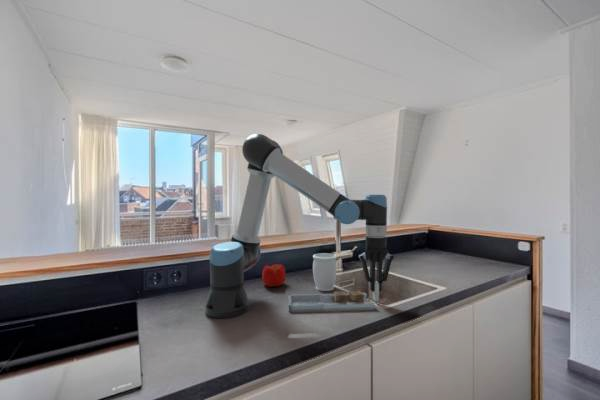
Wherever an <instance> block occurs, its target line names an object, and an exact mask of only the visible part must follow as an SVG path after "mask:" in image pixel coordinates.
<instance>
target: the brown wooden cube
mask: <svg viewBox="0 0 600 400" xmlns="http://www.w3.org/2000/svg"><path fill="white" fill-rule="evenodd" d="M348 293H349V302H364V294H363V293H364V292H361V291H360V290H351V291H348Z"/></svg>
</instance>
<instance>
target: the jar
mask: <svg viewBox="0 0 600 400" xmlns="http://www.w3.org/2000/svg"><path fill="white" fill-rule="evenodd" d="M337 257H338V256H337V255H336V254H334V253H328V252H323V253H322V252H320V253H314V254H312V258H313V261H312V275H313V281H314V284H315V289H316V290H318V291H323V292H328V291H333V290H334V289H335V287H334V286H335V284H336V279H337V273H338V271H337V270H338V267H337V266H338V265H337V261H336V260H337Z"/></svg>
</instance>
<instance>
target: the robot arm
mask: <svg viewBox="0 0 600 400" xmlns="http://www.w3.org/2000/svg"><path fill="white" fill-rule="evenodd" d="M241 152H242V155H243V157H244V158H243V159H244V160H246V162H247V163H248V164H247V171H248V172H249V178H248V181H247V186H246V191H245V195H244V198H243V204H242V208H241V213H240V216H239V217H240V218H239V220H238V221H239V222H238V226H237V229H236V231H235V232H234V233H233V234H231V239H230V241H226V242H225V241H224V242H222V243H217V244H215V245H213V246H212V247H211V249H210V252H209V276H210V277H209V280H210V282H209V283H210V285H209V286H210V287H209V289H210V290H209V292H208V296H207V300H206V302H205V307H204V308H205V310H204V311H205V315H206V316H208V317H210V318H214V319H215V318H216V319H229V318H235V317H238V316H240V315H243V314H245V313H246V312H247V311H249V308H250V307H249V306H250V305H249V304H250V303H249V297H248V296H247V295H248V294H247V292H246V289H245V285H244V282H245V281H244V280H245V279H244V278H245V277H244V276H245V274H244V273H245V272H246V271H248V270H249V269H251V268H252V267H254V266H256V264H257V263H258V262H259V260H260V257H261V248H260V244H261V239H260V237H259V232H260V228H261V224H262V220H263V217H264V216H263V215H264V211H265V207H266V202H267V199H268V194H269V190H270V185H271V181H272V179H273V178H274V177H277V179H279V180H281V181H282V182H283V183H285V184H287V185H288V186H290V187H291V188H292V189H294V190H295V191H296V192H298V193H300V195H303V196H304V197H305V198H307V199H308V200H310V201H311V202H313V203H314V204H315V205H317V206H319V207H320V208H321V209H323V210H324V211H326V212H327V213H328V214H329V215H331V216H333V219H335V220H336V221H337V222H340V223H341V224H343V225H352V224H353V223H355V222H356V221H365V235H366V236H365V249H364V252H362V253H361V254H358V258H359V260H360V263H361V266H362V270H363V276H364V280H366V281H367V283H368V282H369V284H370V285H369V287H370V288H369V290H370V291H371V292H372V299H373V301H374V302H380V292H382V284H383V282H387V280H388V277H389V272H390V267H391V265H392V261H393V259H394V258H395V256H394V255H393V254H390V253H389V250H388V249H387V245H388V244H387V240H388V239H387V237H386V236H387V235H388V234H387V233H388V232H387V230H388V228H387V227H388V222H387V221H388V202H387V200H388V199H387V196H386V195H385V194H366V195H365V198H364V199H349V198H348V197H346V196H345V195H344V194H342V193H340V192H339V191H338V190H336V189H335V188H333V187H332V186H330V185H329V184H328V183H326V182H325V181H322V180H321V179H320V178H319V177H317V176H315V175H314V174H312V173H311V172H310V171H308V170H306V169H305V168H304V167H302V166H301V165H299V164H298V163H296V162H295V161H293V160H292V159H291V158H289V157H287V156H285V154H284V152H283V148H282V147H281V146H280V144H279V143H278V142H276V140H274V139H271V138H269V137H268V136H267V135H265V134H262V133H261V134H260V133H253V134H251V135H250V136H248V137H247V138H245V140H244V142H243V144H242V151H241ZM366 259H368V260H369V268H368V264H367V261H366ZM384 259H385V261H383V260H384ZM383 262H384V265H383ZM368 269H369V270H368Z"/></svg>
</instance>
